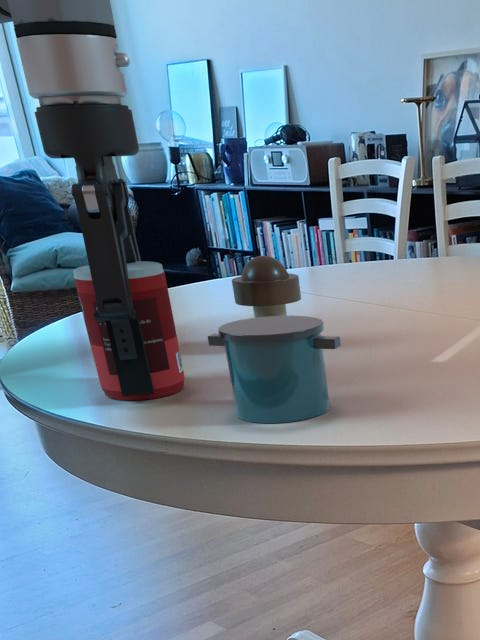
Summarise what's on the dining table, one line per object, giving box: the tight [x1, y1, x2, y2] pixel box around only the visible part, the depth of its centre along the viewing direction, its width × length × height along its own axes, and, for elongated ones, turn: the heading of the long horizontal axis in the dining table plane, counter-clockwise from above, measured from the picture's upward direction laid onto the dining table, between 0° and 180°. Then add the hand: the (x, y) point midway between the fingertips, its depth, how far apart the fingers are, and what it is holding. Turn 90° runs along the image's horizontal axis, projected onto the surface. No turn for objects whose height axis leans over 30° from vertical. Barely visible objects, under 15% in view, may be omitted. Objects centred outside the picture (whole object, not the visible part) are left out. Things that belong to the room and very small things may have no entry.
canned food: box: [72, 260, 186, 401], centre depth 81 cm, size 8×8×11 cm
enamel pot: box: [207, 315, 342, 424], centre depth 74 cm, size 9×12×7 cm
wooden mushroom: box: [231, 255, 302, 318], centre depth 97 cm, size 7×7×10 cm
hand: (143, 383), depth 83 cm, fingers closed on canned food, 8 cm apart
